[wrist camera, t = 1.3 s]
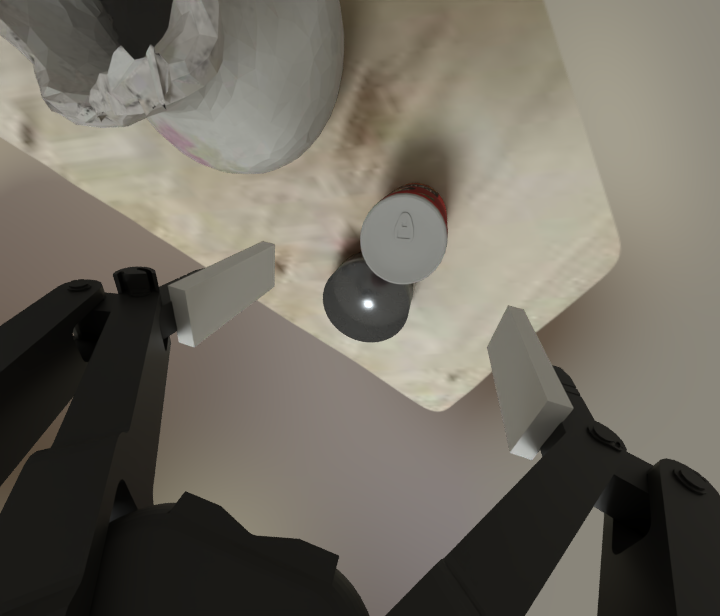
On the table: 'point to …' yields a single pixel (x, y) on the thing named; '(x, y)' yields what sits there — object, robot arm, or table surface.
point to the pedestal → (365, 302)
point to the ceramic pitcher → (190, 70)
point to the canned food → (405, 234)
